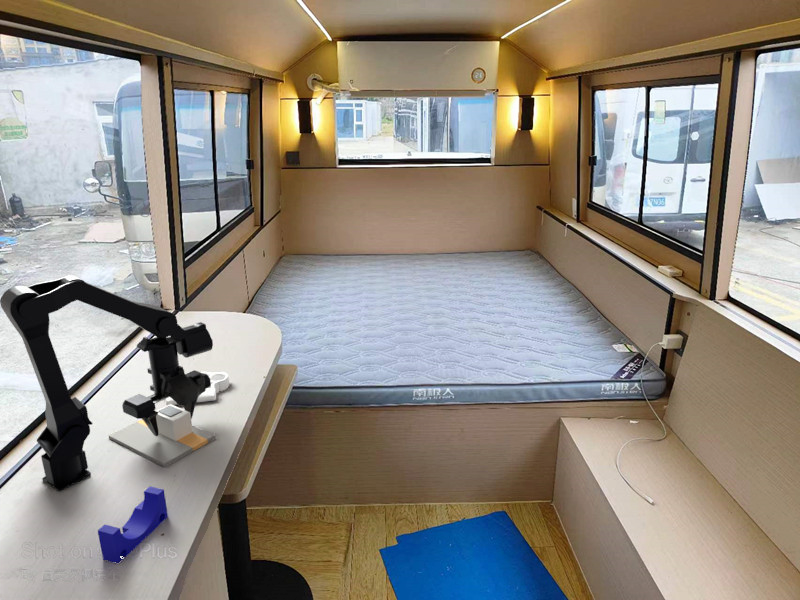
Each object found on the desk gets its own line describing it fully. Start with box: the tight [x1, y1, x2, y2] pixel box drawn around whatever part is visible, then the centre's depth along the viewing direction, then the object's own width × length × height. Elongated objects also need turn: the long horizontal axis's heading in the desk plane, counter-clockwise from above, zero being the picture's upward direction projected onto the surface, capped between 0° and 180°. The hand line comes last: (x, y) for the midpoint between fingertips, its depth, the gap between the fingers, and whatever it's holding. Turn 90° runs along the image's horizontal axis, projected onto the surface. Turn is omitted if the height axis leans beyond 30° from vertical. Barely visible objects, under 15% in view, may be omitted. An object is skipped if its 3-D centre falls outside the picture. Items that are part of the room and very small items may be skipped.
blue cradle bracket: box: [97, 486, 169, 564], centre depth 98 cm, size 12×4×6 cm, turn 162°
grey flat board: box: [108, 419, 216, 468], centre depth 129 cm, size 13×20×1 cm, turn 57°
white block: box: [156, 404, 193, 441], centre depth 129 cm, size 4×7×5 cm, turn 57°
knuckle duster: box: [165, 371, 230, 406], centre depth 150 cm, size 3×18×15 cm
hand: (173, 427), depth 130 cm, fingers open, 8 cm apart
